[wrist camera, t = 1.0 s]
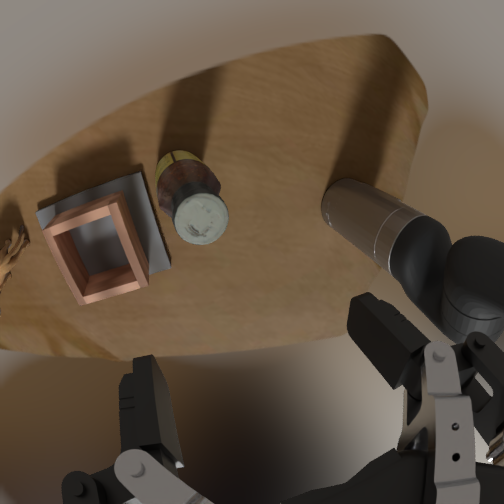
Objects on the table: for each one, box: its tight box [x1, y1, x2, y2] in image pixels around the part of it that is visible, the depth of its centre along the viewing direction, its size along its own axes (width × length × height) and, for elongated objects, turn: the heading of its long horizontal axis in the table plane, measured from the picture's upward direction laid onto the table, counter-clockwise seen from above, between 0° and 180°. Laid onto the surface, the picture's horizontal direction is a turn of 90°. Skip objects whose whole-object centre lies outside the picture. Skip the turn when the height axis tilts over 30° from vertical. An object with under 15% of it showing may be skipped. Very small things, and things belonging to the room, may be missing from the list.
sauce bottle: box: [155, 150, 229, 245], centre depth 28 cm, size 7×6×20 cm
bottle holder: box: [36, 171, 171, 306], centre depth 35 cm, size 17×15×6 cm
